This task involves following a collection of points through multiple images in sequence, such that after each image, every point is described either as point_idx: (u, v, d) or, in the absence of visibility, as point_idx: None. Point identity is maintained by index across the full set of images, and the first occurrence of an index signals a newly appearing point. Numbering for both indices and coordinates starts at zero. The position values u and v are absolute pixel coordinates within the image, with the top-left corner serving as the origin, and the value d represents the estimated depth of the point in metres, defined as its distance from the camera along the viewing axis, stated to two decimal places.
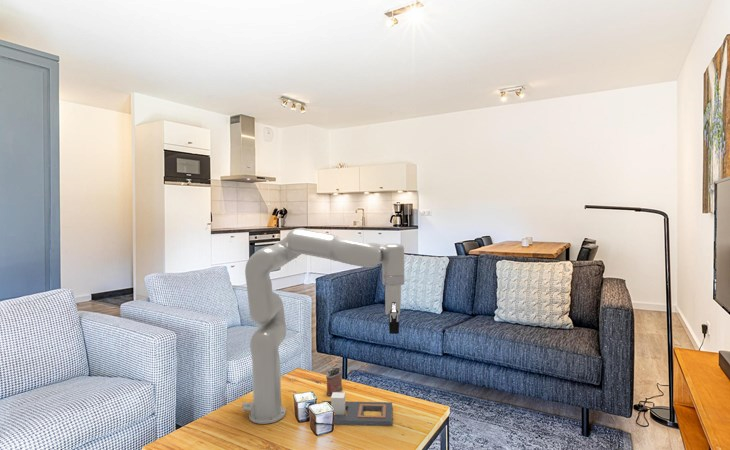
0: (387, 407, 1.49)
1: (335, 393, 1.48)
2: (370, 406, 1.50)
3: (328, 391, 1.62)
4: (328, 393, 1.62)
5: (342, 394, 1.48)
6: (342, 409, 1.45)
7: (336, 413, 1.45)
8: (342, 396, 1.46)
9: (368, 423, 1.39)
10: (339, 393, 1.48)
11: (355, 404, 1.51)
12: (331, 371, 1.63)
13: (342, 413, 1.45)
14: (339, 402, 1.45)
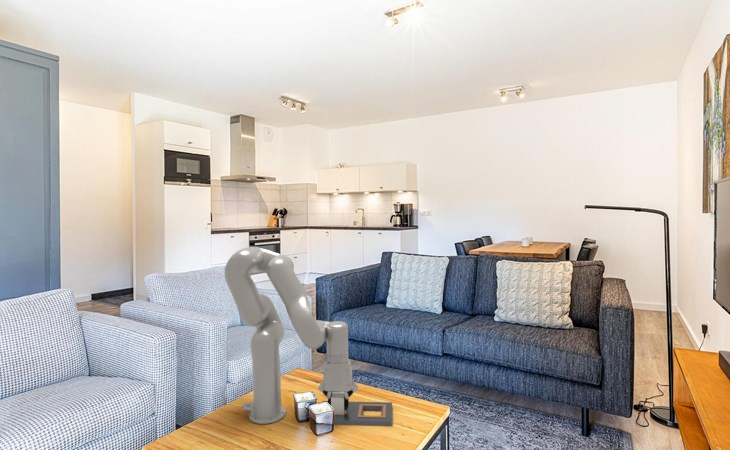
0: (387, 407, 1.49)
1: (335, 393, 1.48)
2: (370, 406, 1.50)
3: None
4: None
5: (342, 394, 1.48)
6: (342, 409, 1.45)
7: (336, 413, 1.45)
8: (342, 396, 1.46)
9: (368, 423, 1.39)
10: (339, 393, 1.48)
11: (355, 404, 1.51)
12: None
13: (342, 413, 1.45)
14: (340, 402, 1.45)
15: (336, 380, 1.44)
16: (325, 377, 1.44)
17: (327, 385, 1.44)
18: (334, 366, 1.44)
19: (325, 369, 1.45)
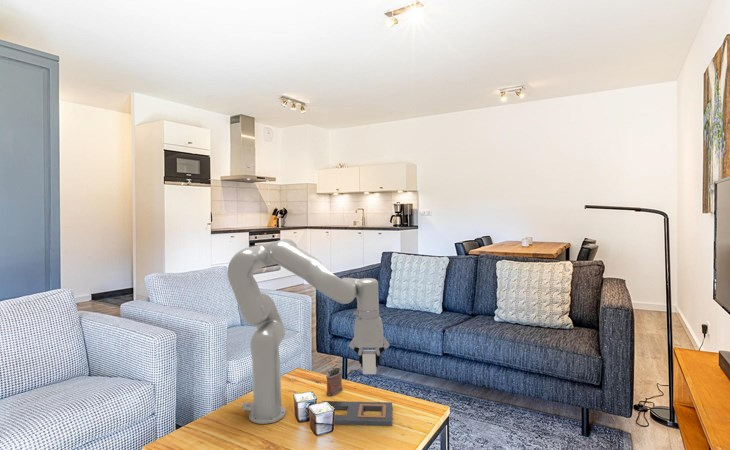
0: (387, 407, 1.49)
1: (366, 350, 1.47)
2: (370, 406, 1.50)
3: (328, 391, 1.62)
4: (328, 393, 1.62)
5: (373, 351, 1.46)
6: (374, 365, 1.44)
7: (368, 369, 1.44)
8: (373, 353, 1.45)
9: (368, 423, 1.39)
10: (370, 351, 1.47)
11: (355, 404, 1.51)
12: (331, 371, 1.63)
13: (374, 369, 1.44)
14: (371, 358, 1.44)
15: (367, 336, 1.43)
16: (356, 333, 1.43)
17: (358, 341, 1.43)
18: (365, 322, 1.43)
19: (356, 325, 1.43)
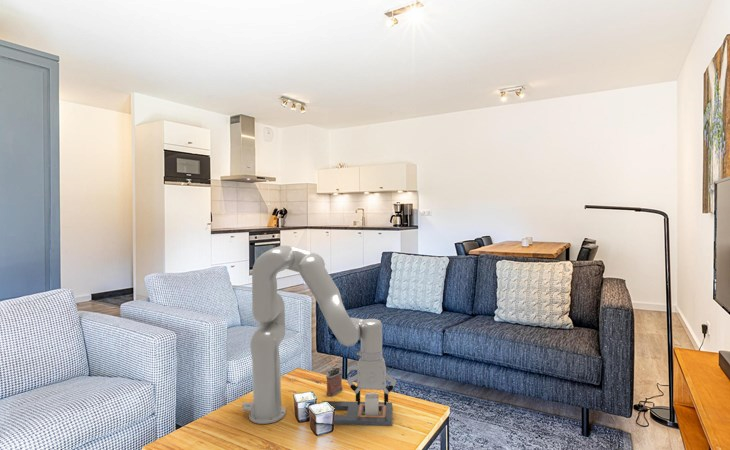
0: (387, 407, 1.49)
1: (368, 394, 1.48)
2: None
3: (328, 391, 1.62)
4: (328, 393, 1.62)
5: (376, 395, 1.47)
6: (376, 410, 1.44)
7: (370, 414, 1.44)
8: (376, 397, 1.45)
9: (368, 423, 1.39)
10: (372, 394, 1.47)
11: (355, 404, 1.51)
12: (331, 371, 1.63)
13: (376, 414, 1.44)
14: (374, 403, 1.44)
15: (370, 377, 1.43)
16: (359, 375, 1.44)
17: (361, 383, 1.44)
18: (368, 364, 1.43)
19: (359, 367, 1.44)
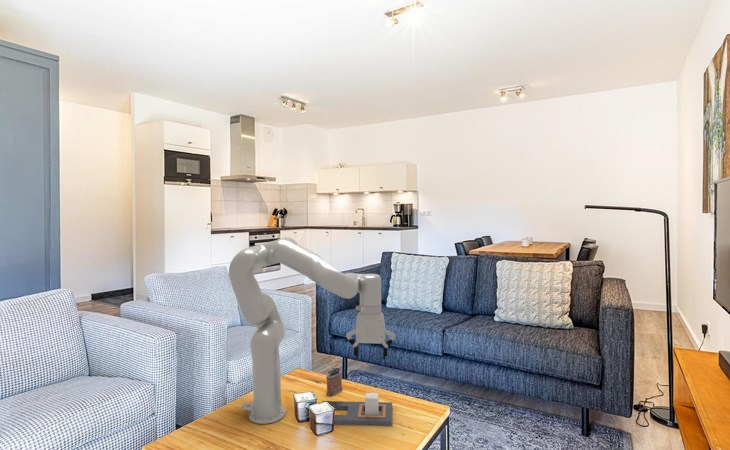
0: (387, 407, 1.49)
1: (368, 394, 1.48)
2: None
3: (328, 391, 1.62)
4: (328, 393, 1.62)
5: (376, 395, 1.47)
6: (376, 410, 1.44)
7: (370, 414, 1.44)
8: (376, 397, 1.45)
9: (368, 423, 1.39)
10: (372, 394, 1.47)
11: (355, 404, 1.51)
12: (331, 371, 1.63)
13: (376, 414, 1.44)
14: (374, 403, 1.44)
15: (369, 331, 1.43)
16: (358, 328, 1.43)
17: (360, 336, 1.43)
18: (367, 317, 1.43)
19: (358, 320, 1.43)
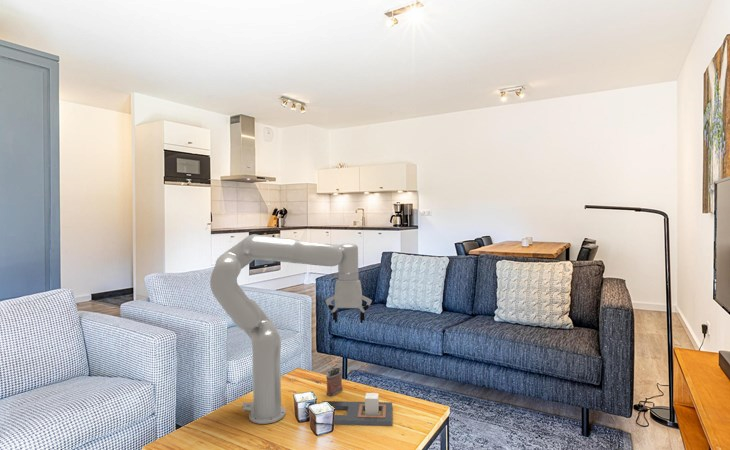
0: (387, 407, 1.49)
1: (368, 394, 1.48)
2: None
3: (328, 391, 1.62)
4: (328, 393, 1.62)
5: (376, 395, 1.47)
6: (376, 410, 1.44)
7: (370, 414, 1.44)
8: (376, 397, 1.45)
9: (368, 423, 1.39)
10: (372, 394, 1.47)
11: (355, 404, 1.51)
12: (331, 371, 1.63)
13: (376, 414, 1.44)
14: (374, 403, 1.44)
15: (347, 296, 1.53)
16: (336, 294, 1.53)
17: (338, 302, 1.53)
18: (345, 284, 1.53)
19: (336, 287, 1.54)
